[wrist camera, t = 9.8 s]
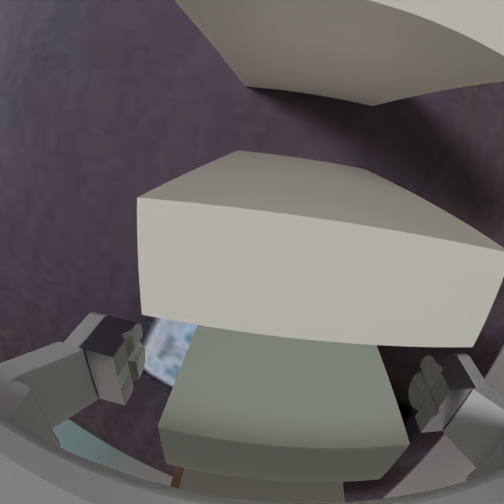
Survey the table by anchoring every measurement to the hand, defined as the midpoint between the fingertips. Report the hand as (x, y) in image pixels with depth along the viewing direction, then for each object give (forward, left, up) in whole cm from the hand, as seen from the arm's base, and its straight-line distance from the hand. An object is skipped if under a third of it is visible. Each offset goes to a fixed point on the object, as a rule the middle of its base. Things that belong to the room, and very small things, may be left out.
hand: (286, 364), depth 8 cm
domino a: (-8, 0, -6) cm, 10 cm away
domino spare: (0, 0, -6) cm, 6 cm away
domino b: (-4, 0, -6) cm, 7 cm away
